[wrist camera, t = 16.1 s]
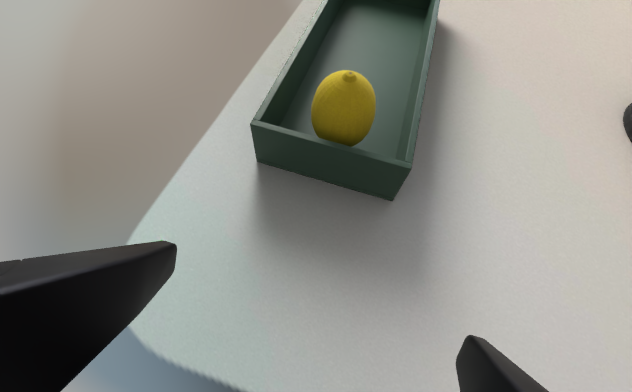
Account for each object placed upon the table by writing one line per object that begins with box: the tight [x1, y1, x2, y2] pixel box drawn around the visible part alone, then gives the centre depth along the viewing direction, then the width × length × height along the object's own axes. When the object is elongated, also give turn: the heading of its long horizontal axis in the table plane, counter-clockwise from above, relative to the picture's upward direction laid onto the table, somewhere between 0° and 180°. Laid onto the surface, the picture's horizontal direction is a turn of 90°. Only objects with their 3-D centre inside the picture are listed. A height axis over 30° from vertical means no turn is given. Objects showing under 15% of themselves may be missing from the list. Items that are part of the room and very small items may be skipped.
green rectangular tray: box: [250, 0, 440, 201], centre depth 33 cm, size 34×13×5 cm, turn 163°
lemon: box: [311, 70, 376, 147], centre depth 25 cm, size 6×6×8 cm
